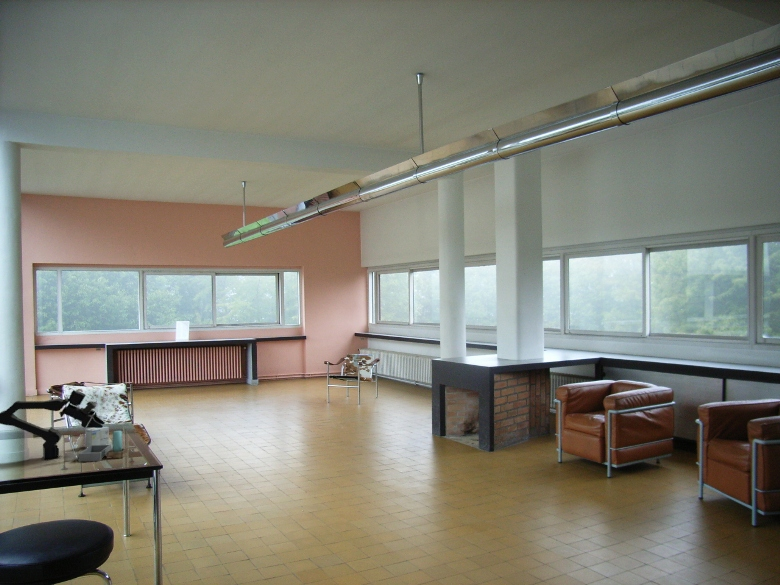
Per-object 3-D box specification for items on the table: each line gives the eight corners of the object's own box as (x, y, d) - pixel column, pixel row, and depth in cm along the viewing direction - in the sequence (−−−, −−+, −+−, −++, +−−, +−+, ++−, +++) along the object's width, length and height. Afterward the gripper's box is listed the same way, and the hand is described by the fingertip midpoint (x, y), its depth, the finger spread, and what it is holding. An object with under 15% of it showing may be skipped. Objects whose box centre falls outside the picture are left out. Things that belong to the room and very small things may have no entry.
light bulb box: (102, 444, 356) (102, 425, 356) (109, 445, 352) (109, 426, 352) (84, 448, 347) (84, 428, 347) (91, 449, 344) (91, 430, 344)
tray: (78, 461, 320) (78, 453, 320) (90, 452, 337) (90, 445, 337) (100, 460, 321) (100, 453, 321) (111, 452, 338) (111, 444, 338)
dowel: (114, 457, 327) (114, 432, 327) (111, 456, 330) (111, 431, 330) (123, 456, 330) (123, 431, 330) (119, 454, 333) (119, 430, 333)
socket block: (106, 458, 326) (106, 452, 326) (111, 454, 334) (111, 448, 334) (122, 457, 327) (122, 452, 327) (127, 453, 335) (127, 448, 335)
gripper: (81, 401, 323) (109, 414, 327) (85, 396, 340) (113, 408, 345) (69, 421, 321) (98, 434, 325) (74, 414, 339) (102, 426, 343)
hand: (103, 425), depth 335 cm, fingers open, 9 cm apart
